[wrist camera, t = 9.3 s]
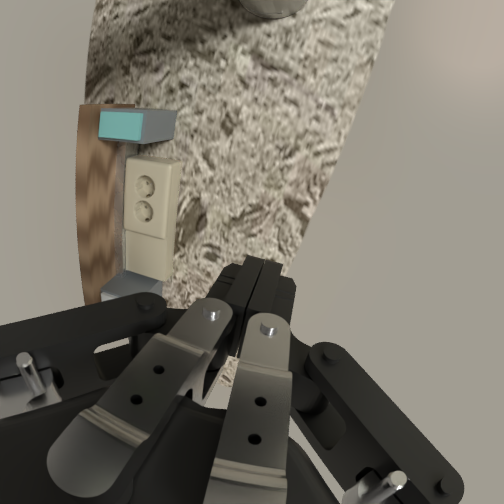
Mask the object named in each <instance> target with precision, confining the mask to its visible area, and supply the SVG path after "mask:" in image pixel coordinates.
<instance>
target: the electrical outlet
mask: <svg viewBox="0 0 504 504" xmlns="http://www.w3.org/2000/svg"><path fill="white" fill-rule="evenodd" d="M181 168H182V161H179V160H173V159H167V158H160V157H154V156H147V155H137V156H133V157H129V158H127V159H126V168H125V186H124V217H123V228H124V229H125V230H126V270H129V271H132V272H135V273H138V274H141V275H144V276H148V277H151V278H154V279H157V280H160V281H164V282H165V281H166V280H167V279H168V278H169V277H170V276H171V275H172V271H173V255H174V241H175V228H176V216H177V205H178V195H179V186H180V177H181Z"/></svg>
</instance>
